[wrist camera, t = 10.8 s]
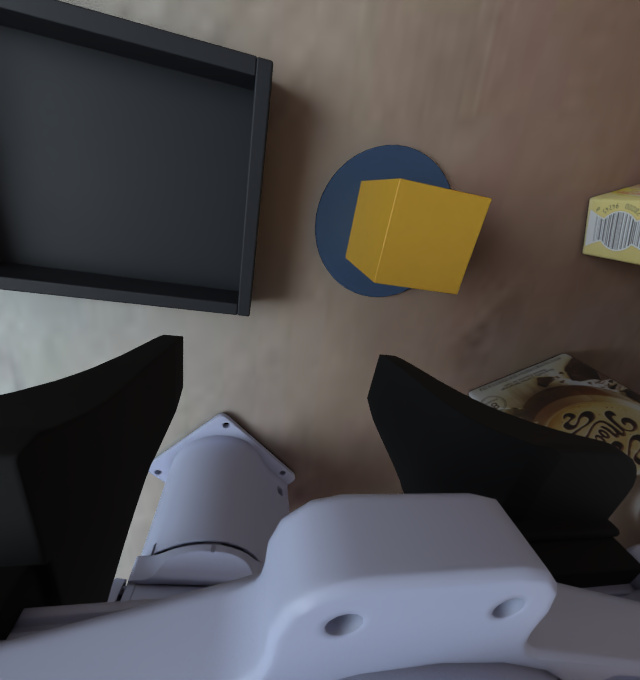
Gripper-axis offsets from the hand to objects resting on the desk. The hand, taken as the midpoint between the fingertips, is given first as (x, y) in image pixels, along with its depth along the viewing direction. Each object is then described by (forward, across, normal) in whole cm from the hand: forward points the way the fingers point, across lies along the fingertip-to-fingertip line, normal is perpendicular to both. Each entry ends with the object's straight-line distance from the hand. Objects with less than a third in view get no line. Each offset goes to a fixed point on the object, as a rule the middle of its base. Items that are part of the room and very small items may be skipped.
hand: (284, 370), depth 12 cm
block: (+10, -6, -5) cm, 13 cm away
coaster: (+10, -6, -5) cm, 13 cm away
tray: (+10, +9, -5) cm, 15 cm away
